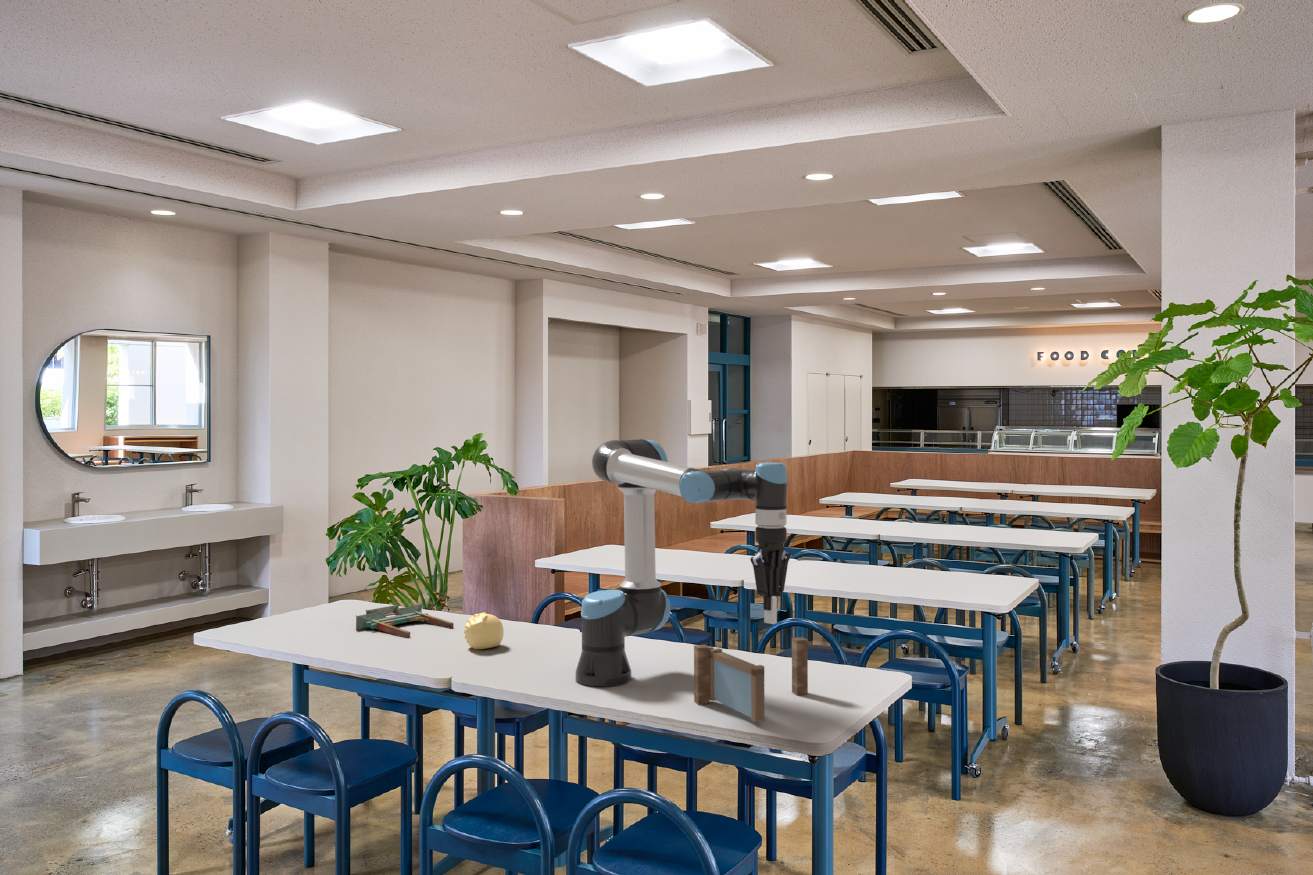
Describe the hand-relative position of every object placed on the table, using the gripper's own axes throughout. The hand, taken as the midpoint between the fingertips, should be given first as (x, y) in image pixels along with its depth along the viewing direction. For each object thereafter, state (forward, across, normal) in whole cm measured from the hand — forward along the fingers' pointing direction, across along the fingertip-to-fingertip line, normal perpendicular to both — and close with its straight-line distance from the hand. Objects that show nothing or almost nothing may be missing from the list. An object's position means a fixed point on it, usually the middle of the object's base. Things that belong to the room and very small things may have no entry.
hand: (770, 622), depth 232 cm
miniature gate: (+23, -16, +147) cm, 149 cm away
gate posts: (+21, +3, +8) cm, 22 cm away
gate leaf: (+20, -10, +2) cm, 22 cm away
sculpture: (+22, -14, +102) cm, 105 cm away
